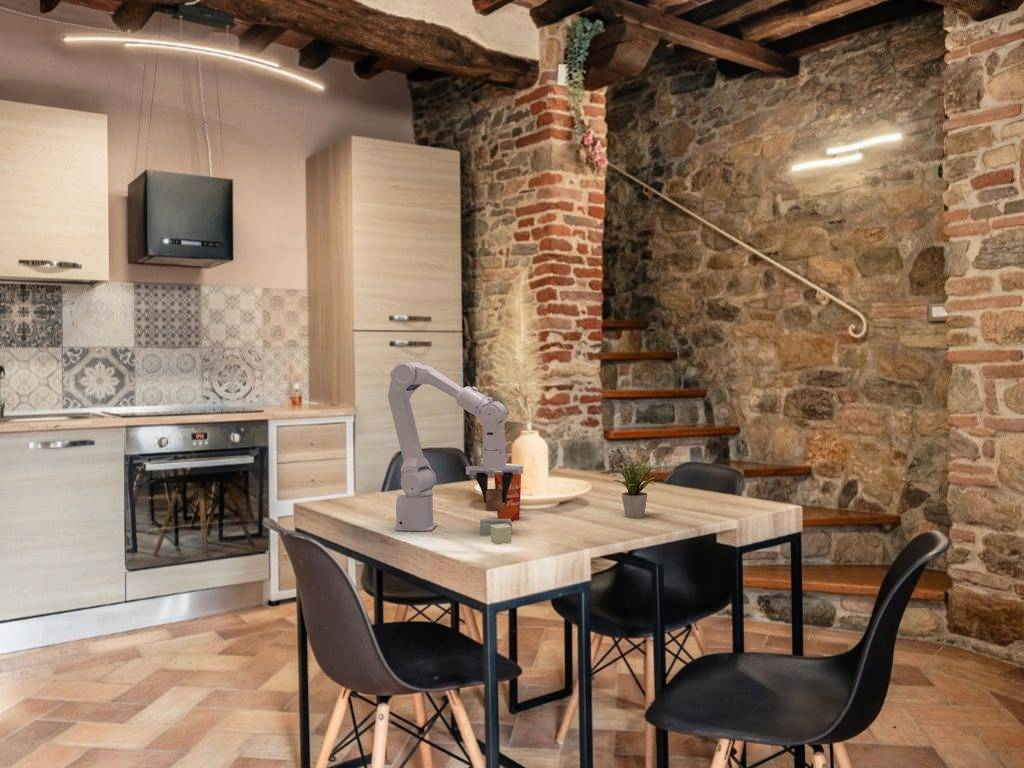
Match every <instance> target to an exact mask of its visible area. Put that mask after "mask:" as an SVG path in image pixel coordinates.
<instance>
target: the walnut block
mask: <svg viewBox="0 0 1024 768" xmlns="http://www.w3.org/2000/svg"><path fill="white" fill-rule="evenodd" d="M502 492H503V489H495V488H488V490H487V491H486V503H485V511H486V512H497V511H502V510H503V509H504V503H502Z"/></svg>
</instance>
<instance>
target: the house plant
mask: <svg viewBox="0 0 1024 768" xmlns="http://www.w3.org/2000/svg"><path fill="white" fill-rule="evenodd" d="M629 458H630V460H629V461H630V463H627V465H628V466H629V467H627V466H626V464H625V463H624V462H620V464H621V467H622V468H620V469H619V468H618V467H616V466H613V467H614V468H615V469H617V471H618V472H619V473H620V474H621V476H622V477H623V479H624V480H623V481H621V480H619V479H613V480H611V482H617V483H620V484H622V485H623V486H624V487H625V488H626V489H627V491H626V492H622V493H621V497H622V504H623V508H624V509H623V510H624V515H625V517H626V518H630V519H641V517H642V518H645V513H646V506H647V502H648V501H647V499H648V493H647V492H643V489H645V487H647V486H648V485H649V484H651V485H653V486H654V487H656V485H655V482H654V481H651V480H652V479H654V477H652V478H649V479H647V480H646V479H645V478H646V477H647V475H650V474H654V473H656V471H652V470H653V469H655V467H658V466H659V465H661V464H655V465H650V466H649V467H646V468H645V469H644V466H645V464H646V462H643V458H641V459H640V460H639V463H638V464H637V467H636V469H635V466H634V463H633V459H632V458H631V457H629ZM650 471H651V472H650Z"/></svg>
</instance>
